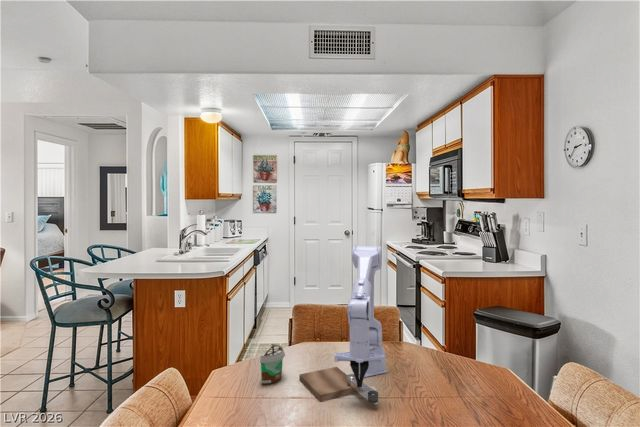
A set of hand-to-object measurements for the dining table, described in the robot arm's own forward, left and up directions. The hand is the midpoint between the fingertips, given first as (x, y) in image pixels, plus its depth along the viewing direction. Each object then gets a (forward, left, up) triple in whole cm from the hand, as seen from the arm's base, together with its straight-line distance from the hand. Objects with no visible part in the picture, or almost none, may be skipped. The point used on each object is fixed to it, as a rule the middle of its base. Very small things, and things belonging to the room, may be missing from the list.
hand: (359, 385), depth 121 cm
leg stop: (-4, +1, -5) cm, 7 cm away
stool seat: (+3, -14, -5) cm, 15 cm away
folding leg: (-2, -2, -3) cm, 4 cm away
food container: (+17, -26, -6) cm, 31 cm away
